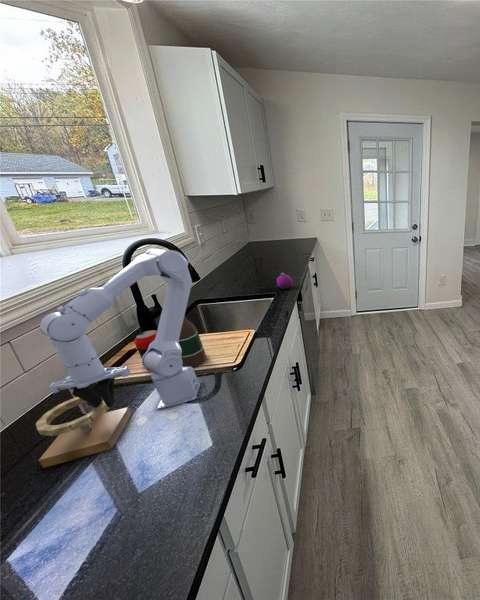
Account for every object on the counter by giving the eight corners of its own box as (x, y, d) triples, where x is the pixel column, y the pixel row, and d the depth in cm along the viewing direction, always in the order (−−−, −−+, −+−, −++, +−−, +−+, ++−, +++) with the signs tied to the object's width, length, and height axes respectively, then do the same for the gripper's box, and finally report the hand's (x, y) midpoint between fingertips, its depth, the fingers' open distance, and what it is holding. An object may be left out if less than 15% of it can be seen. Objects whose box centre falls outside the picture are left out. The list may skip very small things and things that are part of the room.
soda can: (158, 357, 115) (146, 328, 111) (177, 358, 114) (165, 329, 109) (140, 369, 108) (126, 339, 104) (159, 370, 107) (146, 340, 103)
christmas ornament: (291, 285, 182) (287, 268, 178) (295, 288, 175) (291, 271, 171) (276, 288, 178) (272, 271, 174) (280, 292, 171) (276, 275, 167)
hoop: (121, 390, 85) (119, 386, 84) (98, 424, 73) (95, 418, 73) (59, 405, 81) (56, 400, 80) (25, 443, 69) (21, 438, 68)
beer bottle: (198, 368, 107) (174, 304, 98) (176, 369, 107) (150, 305, 98) (211, 355, 114) (190, 294, 105) (190, 356, 114) (168, 296, 105)
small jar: (91, 416, 88) (71, 381, 83) (78, 414, 89) (58, 379, 84) (109, 404, 92) (91, 370, 87) (96, 402, 93) (78, 369, 88)
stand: (132, 413, 88) (123, 396, 85) (112, 448, 76) (101, 430, 74) (73, 429, 83) (62, 411, 81) (43, 468, 72) (30, 449, 70)
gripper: (29, 378, 68) (60, 426, 73) (111, 361, 72) (134, 407, 77) (49, 361, 74) (76, 407, 79) (123, 346, 78) (144, 390, 84)
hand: (106, 405), depth 79 cm, fingers closed on hoop, 1 cm apart
